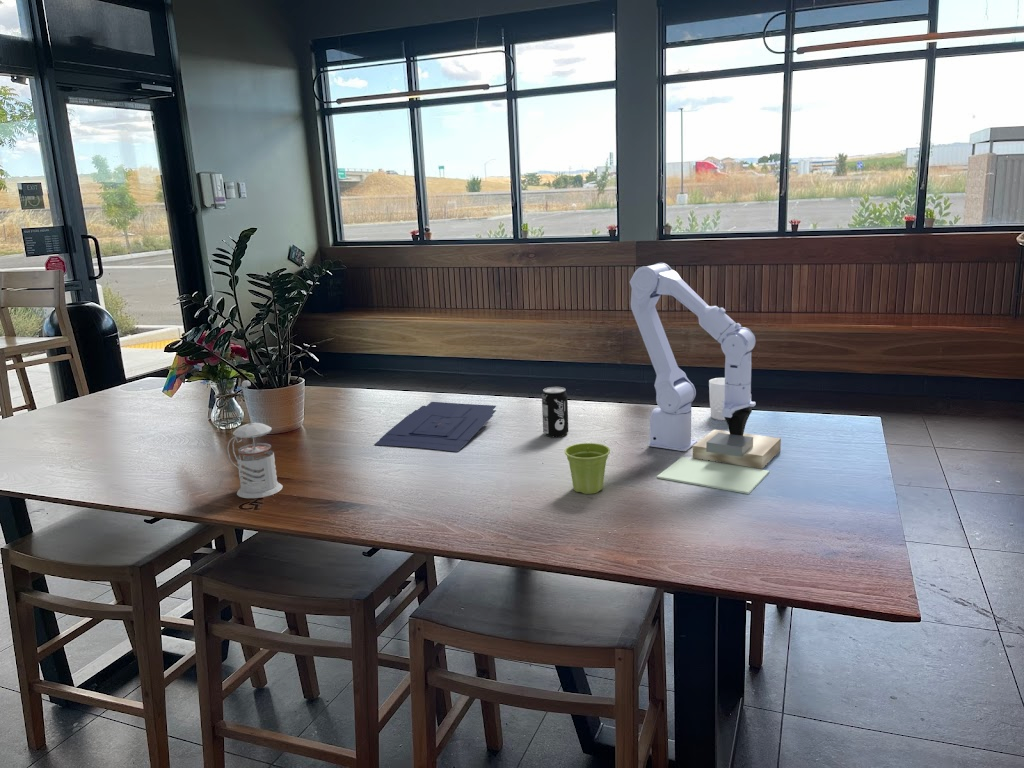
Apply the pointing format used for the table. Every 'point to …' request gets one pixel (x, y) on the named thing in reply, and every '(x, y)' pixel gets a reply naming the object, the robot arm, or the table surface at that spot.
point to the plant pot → (587, 466)
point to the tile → (729, 444)
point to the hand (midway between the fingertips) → (736, 439)
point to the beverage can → (555, 411)
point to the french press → (255, 461)
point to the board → (754, 457)
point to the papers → (439, 426)
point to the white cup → (717, 397)
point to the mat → (714, 475)
